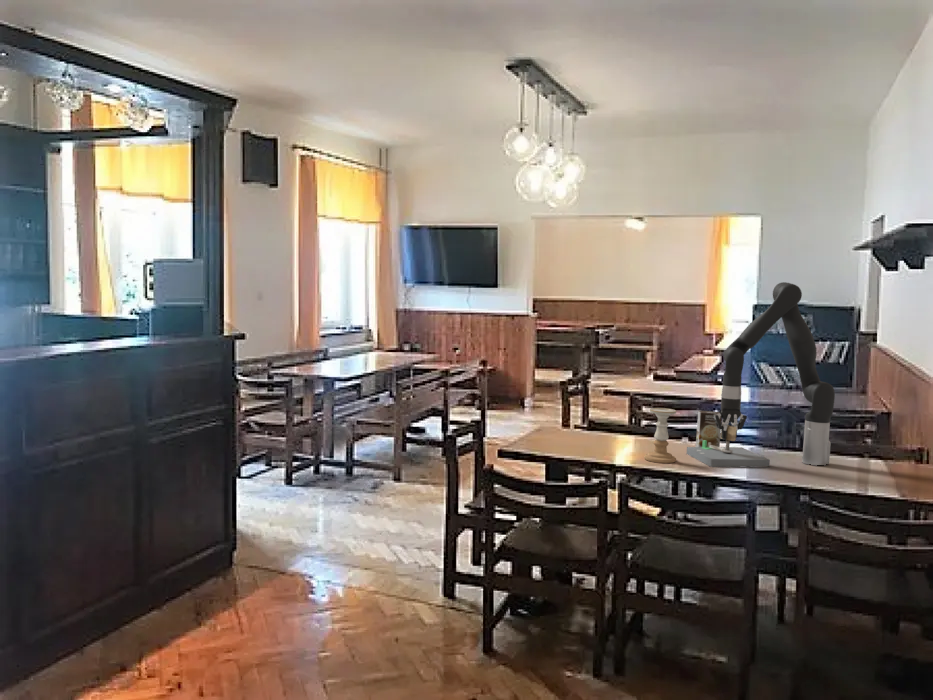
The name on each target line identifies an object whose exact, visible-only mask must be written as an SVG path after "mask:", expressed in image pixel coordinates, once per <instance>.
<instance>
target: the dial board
mask: <svg viewBox="0 0 933 700" xmlns="http://www.w3.org/2000/svg"><path fill="white" fill-rule="evenodd" d="M720 447H721V448H725V449H726V446H725V447H724V446H720ZM729 450H733V452H732V453H724V452H722V451H721V450H717V449H713V448H709V447H707V441H706V440H703V443H702V447H696V446H686V455H687V454H688V455H687V456H690V457H691V458H694V459H695V460H696V461H699V462H701V463H703V464H705V465H707V466H708V467H710V468H741V467H740V466H769V467H770V462H771V461H770V459H769V458H767V457H764V456H763V455H761V454H758V453H756V452H753V451H752V450H748V449H746V448H744V447H740V446H738V447H735V446H734V447H733V446H729Z"/></svg>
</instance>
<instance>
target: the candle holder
mask: <svg viewBox="0 0 933 700" xmlns="http://www.w3.org/2000/svg"><path fill="white" fill-rule="evenodd" d="M649 412H650V414H651V413H652V414H655V416H656V417H657V422H655V426H656V430H655V433H654V435H653V437H654V439H655V440H654V441H653V444H654V451H649V453H647V454H645V455H644V460H645V461H648V462H652V463H659V464H672V463H675V462H676V461H677V457H675V456H674V455H672V453H670V452H668V450H667V447H668V446H669V442H668V439H669V437H670V436H669V433H668V427H669V425H670V424H669V423H668V418H670V416H671V415H676V414H677V410H675V409H672V408H665V407H652V408H649Z"/></svg>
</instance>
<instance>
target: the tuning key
mask: <svg viewBox="0 0 933 700" xmlns="http://www.w3.org/2000/svg"><path fill="white" fill-rule="evenodd" d="M721 431H722V430H721ZM726 431H727V435H726V440H725V447H726V449H725V448H721V447H722V446H720V447H717V446H713V445H711V443H710V442H708V447H709V448H713V449H717V450H721V451H722V452H724V453H732V452H733V450H729V447H730V446H731V445H730V444H731V443H730V441H731V442H735V441H736V440H737V438H736V427H733V426H732V425H729V424H728V426H727V429H726ZM720 440H723V439H722V438H721V437H720Z"/></svg>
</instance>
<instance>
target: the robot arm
mask: <svg viewBox="0 0 933 700" xmlns="http://www.w3.org/2000/svg"><path fill="white" fill-rule="evenodd" d="M802 295H803V293H802V290H801V288H800V287H799V286H798V285H797V284H794V283H790V282H779V283H777V284H776V285H775V286H774V288H773V290H772V299H773V302H772V303H771V304H770V306H768V308H767V309H766V310H765V311H763V312H762V313H761V314H760V315H758V317H756V318H755V319H754V320H753V321H751V322H750V323H749V324H748V325H747V326H746V327H745V329H744V330H743V331H742V332H741V333H740V334H739V336H738V337H737V338H736V339H735V340H734V341H733V342H732V343H730V344H729V346H727V347H726V349H725V350H724V352H723V359H724V361H725V368H724V369H725V370H724V372H723V375H722V388H721V394H720V397H721V399H720V411H719V412H720V413H719V414H714V415H713V417H714V420H715V423H716V426H717V428H719V429H721V430H722V431H721V434H720V439H721V438H722V439H721V440H723V441H726V435H727V431H726V429H727V426H728V425H729V424H731V426H733V427H736V439H737V437H738V436H737V435H738V431H740V430H742V429H743V428H744V425H745V423H746V421H747V419H748V416H747V415H745V414H743V413H742V412H741V404H742V374H743V368H744V364H745V363H744V362H745V355H746V353H747V352H748V351H750V349H752V348H754V347H755V346H756V345H757V344H758V343H759V342H760V340H761V339H762V338H763V337H764V336H765V335H766V334H767V333H768V331H769V330H770V329H771V328H772V327H773V326H774V325H775V324H776V323H777V322H778V321H779V320H780V319H782V323H783V327H784V331H785V334H786V337H787V341H788V344H789V348H790V351H791V353H792V356H793V359H794V362H795V365H796V368H797V371H798V374H799V378H800V379H799V380H800V385H801V389H802V393H803V396H804V398H805V399H806V401H807V402H809V403H811V408H810V410H809V411H808V412H806V413H805V416H804V430H803V431H804V432H803V445H802V446H803V447H802V456H801V457H802V461H801V462H802V463H803V464H805V465H809V464H811V465H810V466H817V465H824V466H827V465H826V464H829V465H830V457H831V441H830V439H829V438H830V427H831V426H830V425H831V418H832V416H833V414H834V413H833V412H834V407H835V398H836V397H835V396H836V395H835V394H836V393H835V389H834V386H833V385H832V384H830V383H828V382H824V381H821V379H820V375H819V374H818V371H817V367H816V360H817V353H818V352H817V345H816V342H815V338H814V336H813V333H812V331H811V329H810V327H809V326H808V324H807V322H806V321H805V319H804V318H803V316H802V313H801V312H800V309H799V305H798V303H800V301H801V299H802ZM720 416H721V417H722V421H721V422H720ZM738 420H739V421H738Z"/></svg>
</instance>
